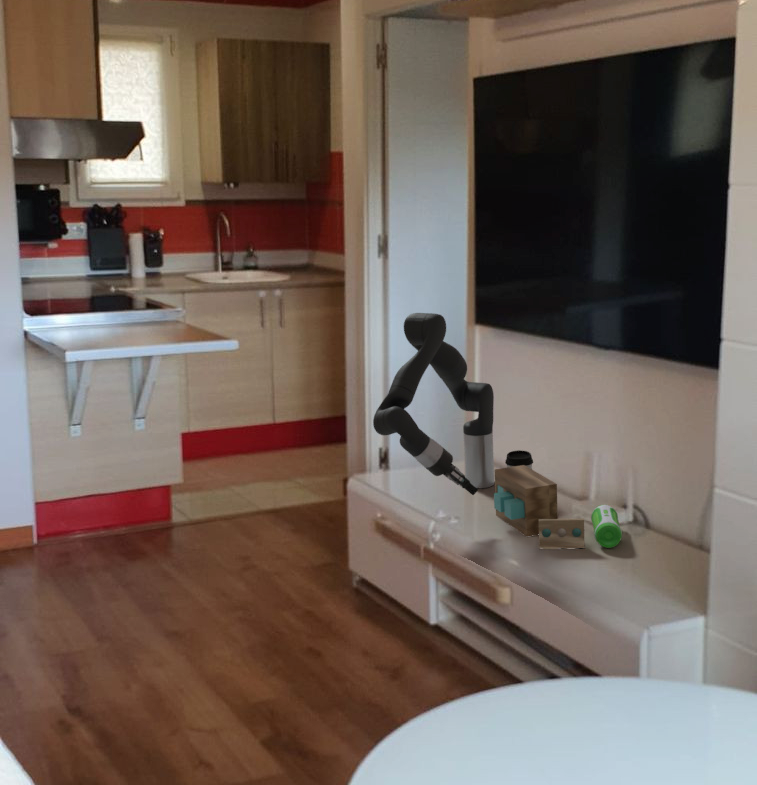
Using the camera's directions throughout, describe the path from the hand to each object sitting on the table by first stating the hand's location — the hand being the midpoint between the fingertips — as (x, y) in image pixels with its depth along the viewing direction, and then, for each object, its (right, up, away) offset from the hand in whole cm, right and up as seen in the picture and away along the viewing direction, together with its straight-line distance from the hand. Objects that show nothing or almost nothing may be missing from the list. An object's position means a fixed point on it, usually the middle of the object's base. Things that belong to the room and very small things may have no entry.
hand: (474, 491), depth 331 cm
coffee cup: (+16, -5, +23) cm, 28 cm away
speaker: (+35, -12, -12) cm, 39 cm away
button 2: (+12, -6, -6) cm, 14 cm away
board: (+22, -13, -16) cm, 30 cm away
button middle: (+9, -5, 0) cm, 10 cm away
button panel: (+15, -9, +3) cm, 18 cm away
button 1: (+11, -3, +8) cm, 14 cm away
